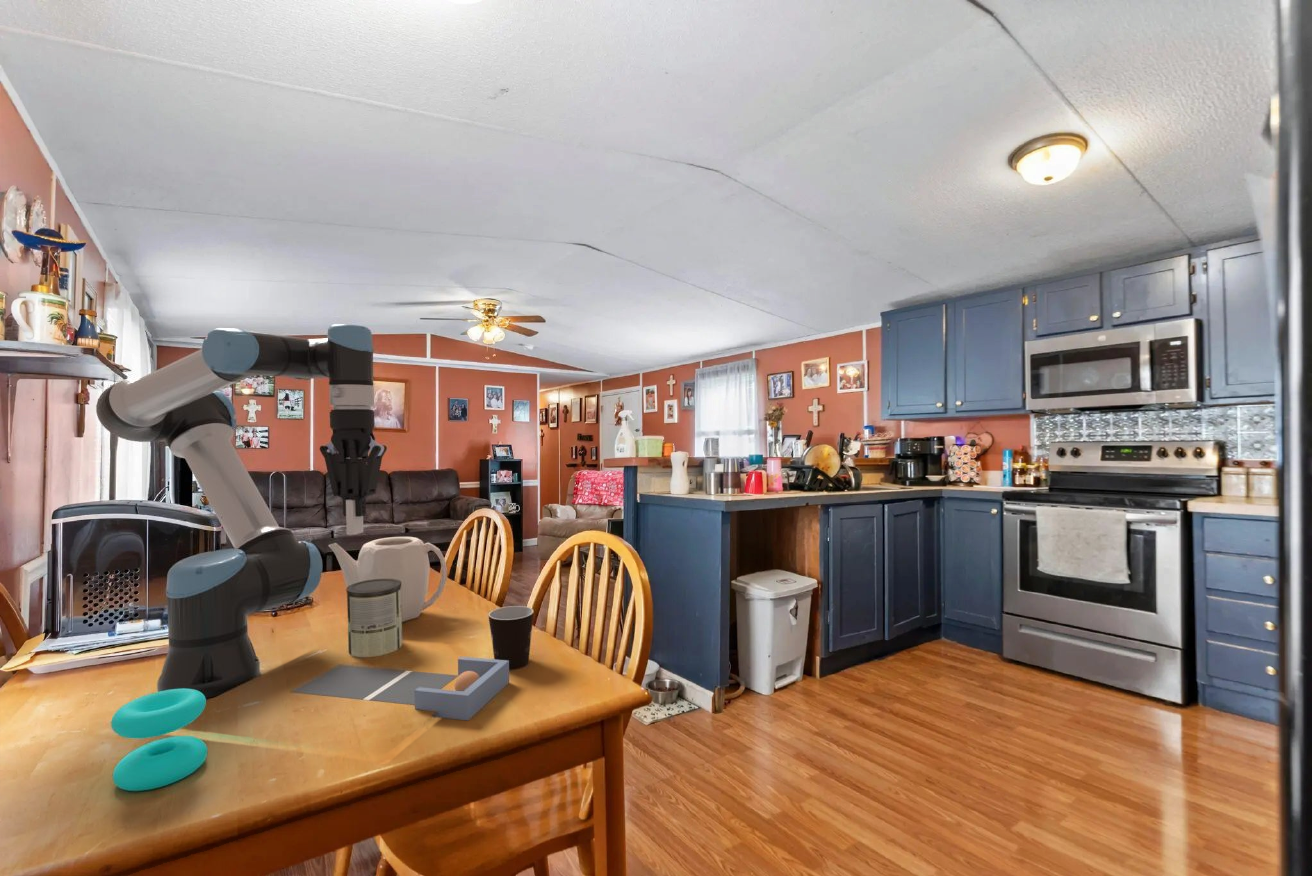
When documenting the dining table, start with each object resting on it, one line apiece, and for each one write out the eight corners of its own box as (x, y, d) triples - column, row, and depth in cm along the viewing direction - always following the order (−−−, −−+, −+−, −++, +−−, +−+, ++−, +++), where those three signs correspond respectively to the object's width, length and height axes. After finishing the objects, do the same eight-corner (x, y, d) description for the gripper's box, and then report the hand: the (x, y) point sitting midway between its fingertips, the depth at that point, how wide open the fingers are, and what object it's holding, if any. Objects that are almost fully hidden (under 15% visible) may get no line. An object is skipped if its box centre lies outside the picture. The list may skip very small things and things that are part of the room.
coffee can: (338, 654, 126) (337, 586, 125) (387, 640, 134) (386, 575, 133) (362, 666, 119) (360, 594, 119) (412, 651, 127) (411, 583, 127)
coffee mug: (523, 673, 115) (522, 620, 115) (481, 670, 117) (480, 618, 117) (546, 650, 127) (546, 602, 126) (507, 647, 128) (507, 600, 128)
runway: (290, 697, 106) (290, 691, 106) (340, 669, 118) (340, 664, 118) (419, 711, 101) (419, 705, 101) (458, 680, 112) (458, 675, 112)
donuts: (223, 687, 87) (156, 721, 77) (225, 756, 88) (158, 799, 78) (163, 682, 89) (89, 715, 79) (165, 750, 89) (92, 792, 79)
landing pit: (414, 714, 99) (414, 690, 99) (461, 677, 113) (461, 656, 113) (468, 720, 97) (467, 695, 97) (509, 682, 111) (508, 660, 111)
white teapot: (340, 612, 154) (338, 537, 153) (451, 604, 159) (450, 532, 158) (319, 633, 138) (317, 549, 138) (443, 624, 144) (441, 544, 143)
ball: (463, 671, 103) (478, 692, 103) (476, 662, 108) (490, 683, 107) (445, 685, 104) (459, 707, 103) (458, 676, 108) (472, 697, 108)
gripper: (307, 408, 113) (310, 536, 114) (369, 407, 110) (372, 538, 111) (336, 409, 120) (339, 528, 121) (395, 408, 118) (398, 531, 118)
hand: (355, 533), depth 116 cm, fingers closed
